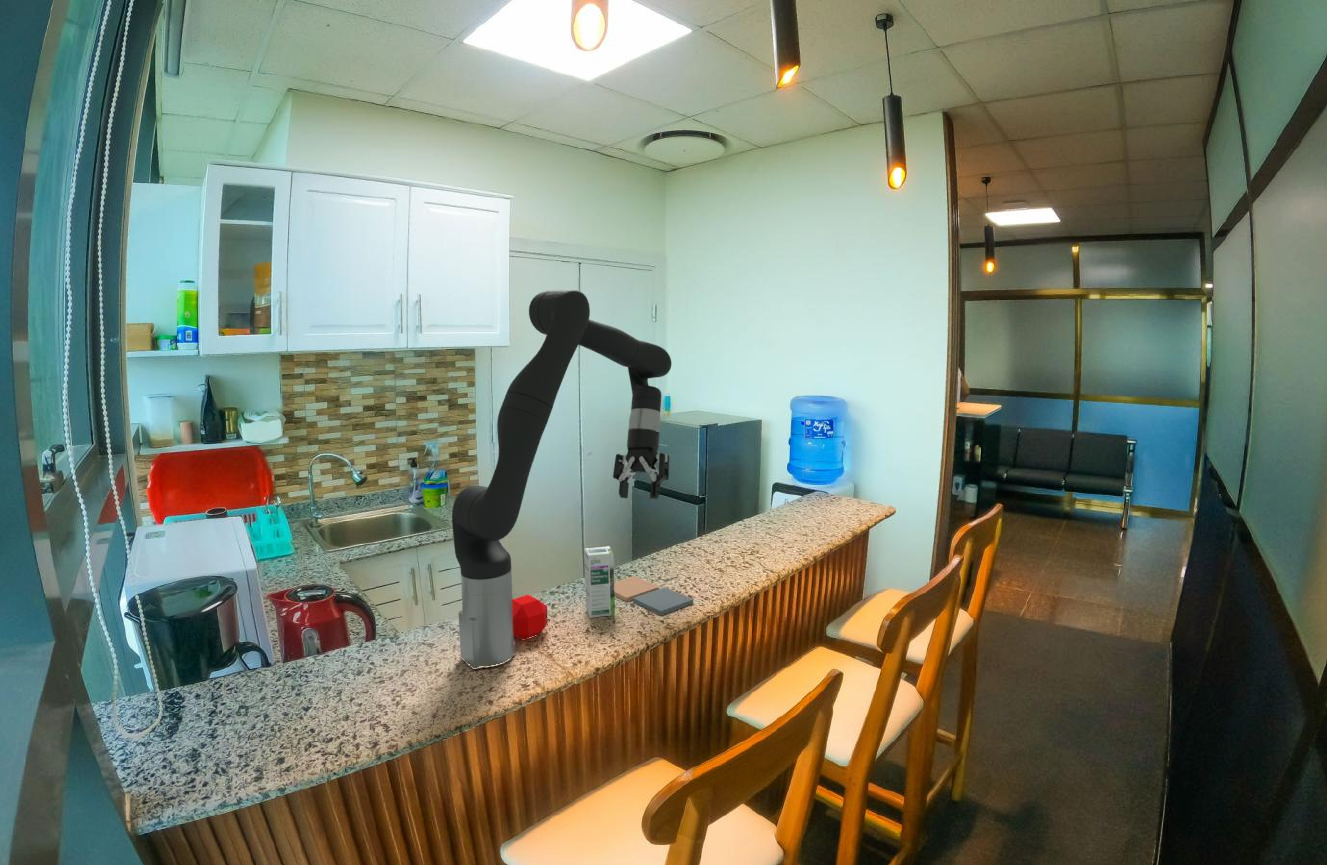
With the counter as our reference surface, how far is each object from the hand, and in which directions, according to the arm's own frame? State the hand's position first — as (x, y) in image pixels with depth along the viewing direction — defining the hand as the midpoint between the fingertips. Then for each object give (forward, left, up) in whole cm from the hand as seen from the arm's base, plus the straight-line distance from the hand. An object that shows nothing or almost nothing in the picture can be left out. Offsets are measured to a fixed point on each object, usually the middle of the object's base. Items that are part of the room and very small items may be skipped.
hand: (638, 498), depth 145 cm
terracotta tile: (+1, +5, -24) cm, 25 cm away
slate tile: (+2, -6, -24) cm, 25 cm away
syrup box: (-12, 0, -24) cm, 27 cm away
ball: (-30, +1, -24) cm, 38 cm away
